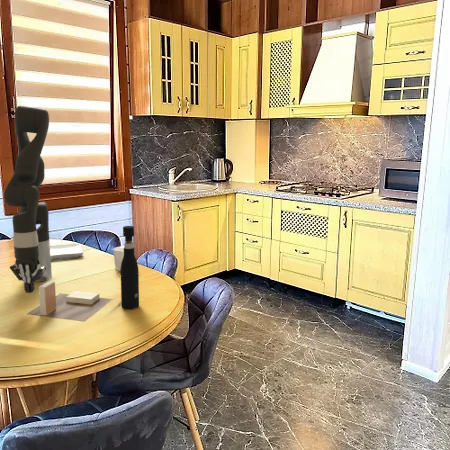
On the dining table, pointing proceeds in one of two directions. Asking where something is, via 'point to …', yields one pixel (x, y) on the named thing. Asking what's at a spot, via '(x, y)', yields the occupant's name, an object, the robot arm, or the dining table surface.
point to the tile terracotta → (47, 297)
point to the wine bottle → (129, 273)
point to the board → (72, 309)
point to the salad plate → (65, 251)
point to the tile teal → (82, 297)
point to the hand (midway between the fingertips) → (29, 292)
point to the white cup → (118, 257)
